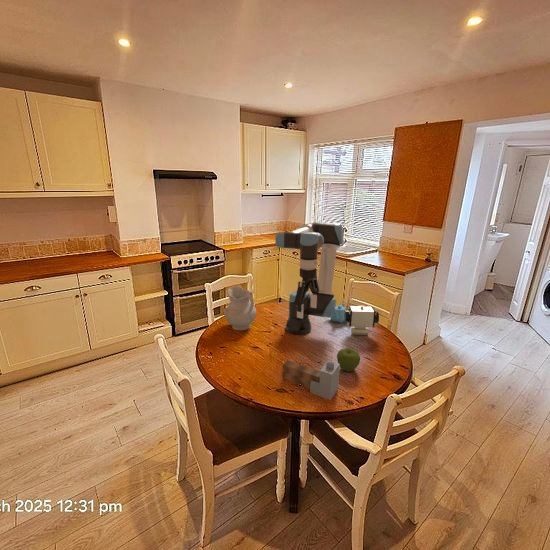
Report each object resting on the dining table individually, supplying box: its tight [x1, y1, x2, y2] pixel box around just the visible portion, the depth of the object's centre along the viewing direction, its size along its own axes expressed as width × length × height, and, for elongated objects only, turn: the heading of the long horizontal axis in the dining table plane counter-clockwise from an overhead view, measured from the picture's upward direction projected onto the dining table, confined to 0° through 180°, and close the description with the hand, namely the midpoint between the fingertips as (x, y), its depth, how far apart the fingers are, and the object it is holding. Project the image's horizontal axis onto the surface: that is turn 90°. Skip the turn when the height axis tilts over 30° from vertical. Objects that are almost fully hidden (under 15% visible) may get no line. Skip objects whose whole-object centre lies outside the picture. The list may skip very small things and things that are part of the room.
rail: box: [282, 359, 320, 389], centre depth 129 cm, size 18×4×7 cm, turn 57°
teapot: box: [330, 301, 347, 324], centre depth 188 cm, size 13×13×10 cm
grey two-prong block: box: [309, 359, 341, 401], centre depth 123 cm, size 9×8×14 cm
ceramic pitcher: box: [223, 285, 257, 331], centre depth 178 cm, size 22×20×25 cm
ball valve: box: [344, 305, 380, 336], centre depth 170 cm, size 18×8×18 cm, turn 84°
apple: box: [336, 347, 361, 372], centre depth 138 cm, size 11×10×10 cm
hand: (306, 312), depth 137 cm, fingers open, 13 cm apart
